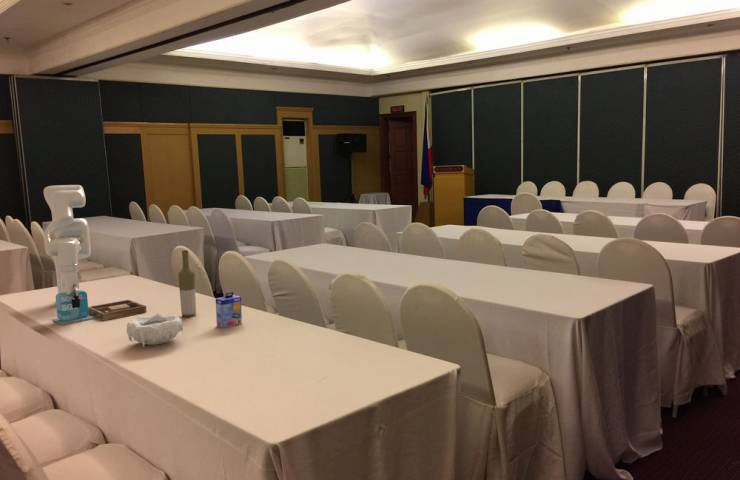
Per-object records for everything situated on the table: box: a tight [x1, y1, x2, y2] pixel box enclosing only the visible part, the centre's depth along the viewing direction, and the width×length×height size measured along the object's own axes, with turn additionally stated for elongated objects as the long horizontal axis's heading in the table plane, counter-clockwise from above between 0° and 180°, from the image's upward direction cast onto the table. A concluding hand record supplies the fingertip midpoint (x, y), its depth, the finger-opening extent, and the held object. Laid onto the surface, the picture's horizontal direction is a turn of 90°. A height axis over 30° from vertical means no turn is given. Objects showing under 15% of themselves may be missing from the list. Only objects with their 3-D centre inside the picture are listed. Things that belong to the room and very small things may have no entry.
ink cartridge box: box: [215, 291, 243, 329], centre depth 250 cm, size 10×6×14 cm, turn 136°
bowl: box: [126, 313, 184, 348], centre depth 227 cm, size 21×20×10 cm
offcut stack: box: [105, 304, 130, 313], centre depth 273 cm, size 7×10×4 cm
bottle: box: [177, 249, 197, 318], centre depth 266 cm, size 7×7×30 cm
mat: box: [51, 314, 96, 326], centre depth 265 cm, size 12×14×1 cm
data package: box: [55, 289, 90, 321], centre depth 265 cm, size 12×4×12 cm, turn 135°
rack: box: [88, 299, 148, 321], centre depth 276 cm, size 19×20×3 cm
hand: (72, 305), depth 264 cm, fingers open, 9 cm apart
